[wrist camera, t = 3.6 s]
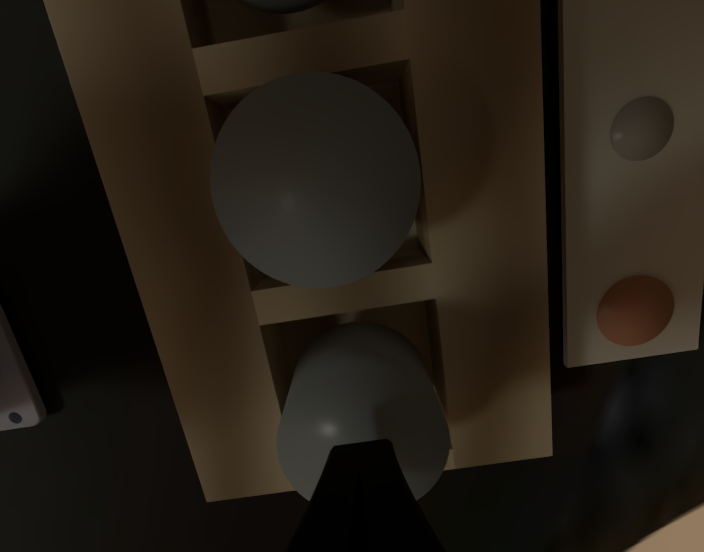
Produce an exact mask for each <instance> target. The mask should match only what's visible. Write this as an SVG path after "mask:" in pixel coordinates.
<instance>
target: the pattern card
mask: <svg viewBox="0 0 704 552" xmlns="http://www.w3.org/2000/svg"><path fill="white" fill-rule="evenodd" d="M558 52H559V113H560V174H561V235H562V296H563V357H564V365H565V366H566V367H567V368H570V367H577V366H584V365H591V364H598V363H605V362H612V361H619V360H626V359H633V358H640V357H647V356H654V355H661V354H668V353H674V352H681V351H688V350H695V349H698V342H699V330H700V319H701V307H702V295H703V284H704V0H558Z"/></svg>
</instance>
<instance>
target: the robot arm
mask: <svg viewBox="0 0 704 552" xmlns="http://www.w3.org/2000/svg"><path fill="white" fill-rule="evenodd" d="M19 414H20V415H19ZM46 414H47V412H46V408H45V406H44V404H43V401H42V399H41V397H40V394H39V392H38V390H37V387H36V385H35V383H34V380H33V378H32V376H31V373H30V371H29V369H28V366H27V364H26V362H25V359H24V357H23V355H22V353H21V350H20V348H19V346H18V343H17V341H16V339H15V336H14V334H13V332H12V329H11V327H10V325H9V322H8V320H7V318H6V315H5V313H4V311H3V308H2V306H1V304H0V431H2V430H9V429H16V428H23V427H29V426H34V425H37V424H38V423H40V422H41V421H42V420H43V419H44V418H45V417H46ZM285 552H446V551H445V549H444V547H443V546H442V544H441V543H440V541H439V539H438V538H437V536H436V534H435V533H434V531H433V529H432V528H431V526H430V524H429V523H428V521H427V519H426V517H425V515H424V514H423V512H422V510H421V508H420V506H419V505H418V503H417V501H416V499H415V497H414V495H413V493H412V491H411V489H410V487H409V485H408V483H407V481H406V479H405V477H404V475H403V472H402V470H401V468H400V465H399V463H398V460H397V458H396V454H395V451H394V448H393V443H392V442H391V441H390V440H388V439H380V440H373V441H365V442H358V443H351V444H343V445H336V446H333V448H332V449H331V450H330V452H329V455H328V458H327V461H326V463H325V466H324V469H323V471H322V474H321V476H320V478H319V481H318V483H317V486H316V488H315V490H314V492H313V495H312V497H311V499H310V501H309V503H308V506H307V508H306V510H305V512H304V514H303V516H302V518H301V520H300V522H299V525H298V527H297V529H296V531H295V533H294V535H293V537H292V539H291V541H290V542H289V544H288V546H287V548H286V550H285Z"/></svg>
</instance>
